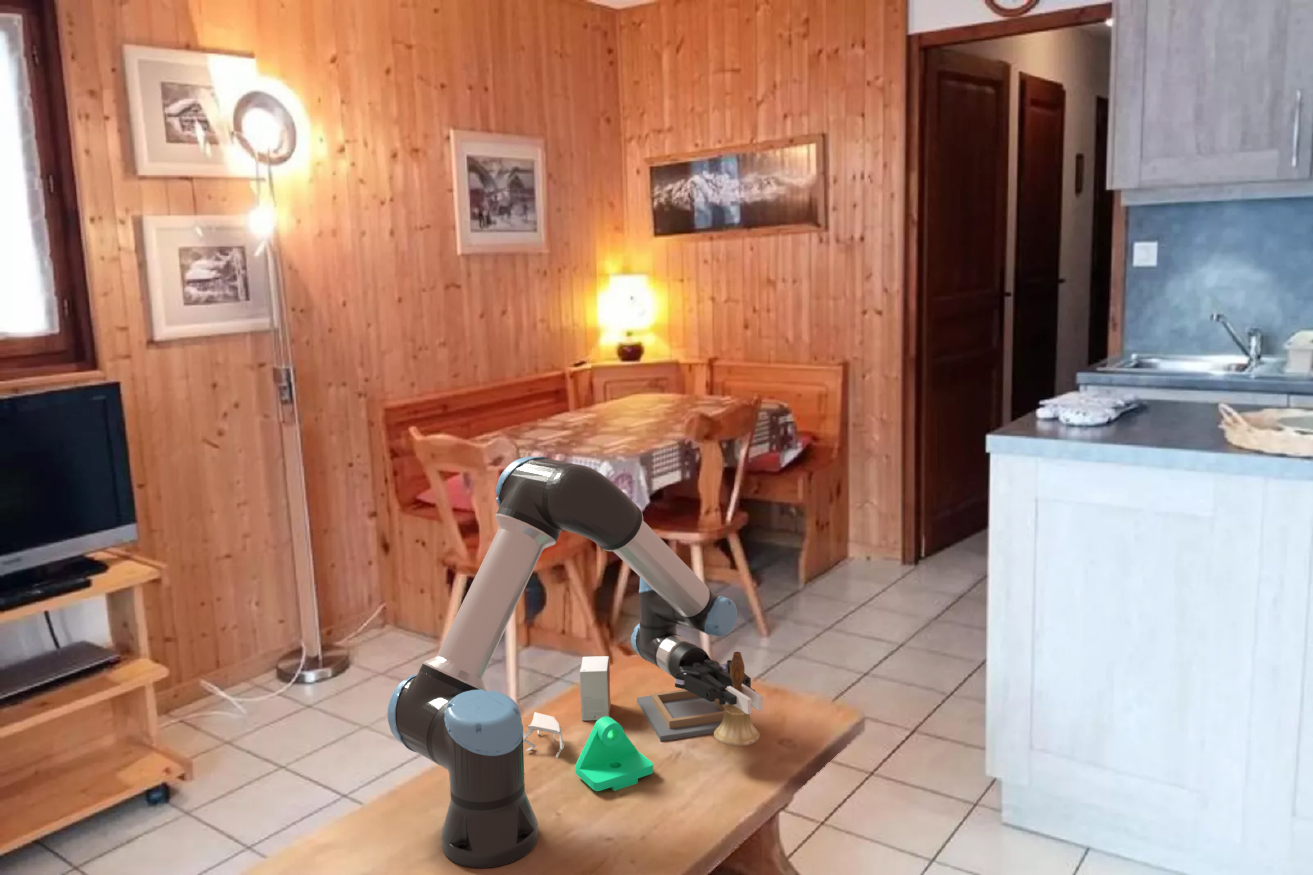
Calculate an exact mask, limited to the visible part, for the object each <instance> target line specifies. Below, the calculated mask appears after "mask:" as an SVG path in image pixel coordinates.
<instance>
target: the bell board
mask: <svg viewBox="0 0 1313 875" xmlns="http://www.w3.org/2000/svg"><path fill="white" fill-rule="evenodd" d="M707 693H708V694H709V692H708V691H707ZM636 703H637V705H638V706H639V708H640V709H641V711H642V713H643V714H644V716H645V718H646V720H647V721H648V723H649V725H650V726H651V727H652V729H653V731H654V733H655V734H656V736H657V738H658V740H659V741H660V742H663V741H664V742H665V741H671V740H677V739H683V738H684V739H685V738H691V737H698V736H704V735H710V734H714V731H715V730H716V728H717V727H718V726H720V724H721V723H722V720H723V717H724V712H725V707H726V706H727V705H728V704H729V703H727V702H726V701H725V704H724V705H720V704H719V700H718V699H715V701H714V702H710V701H708V700H706V699H704V698H702V697H700V696H697V695H695V694H693V693H691V692H689V691H687V690H685V689H679V690H670V691H663V692H656V693H651V695H644V696H637V697H636Z"/></svg>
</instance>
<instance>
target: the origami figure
mask: <svg viewBox="0 0 1313 875" xmlns="http://www.w3.org/2000/svg"><path fill="white" fill-rule="evenodd" d="M527 728H528V729H527V730H526V731H525V732H523V743H525V744H527V745H529V746H530V747H528V748H527V749H525V752H529V751H531V750H532V749H534V748H536V746H537V745H536V744H534V743H532V742H531V741H529V740H527V739H528V737H529V736H530V735H531V734H532V733H533V732H534V731H537V735H538V736H540V735H541V733H540V732H544V733H549V734H550V733H551V734H553V737H552V738H553V740H554V741H555V742H556V741H557V739H556V737H557V735H558V737H559V738H558V739H559V749H558V751H557V753H556V755H555V758H559V756H560V754H561V752H562V751H563V750H564V749H565V747H564V740H563V735H562V729H561V725H560V723H559V722H558V720H556V718H555V716H552V715H547V714H544V713H540V712H536V711H534V713H533V718H532V721H531V722H530V724H528V725H527Z"/></svg>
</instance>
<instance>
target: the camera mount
mask: <svg viewBox="0 0 1313 875" xmlns="http://www.w3.org/2000/svg"><path fill="white" fill-rule="evenodd" d="M574 770H575V772H574V773H575V774H576V775H577V777H579V778H580V779H581V780H582V781H583V782H584V783H585V784H587V785H588V786H589V787H590V788H591V789H592V791H595V792H600V791H603V790H608V789H612V790H613V792H615V791H619V790H622V789H624V788H628V787H631V786H633V785H636V784H637V785H638V783H639V782H638V779H641V778H643V777H646V776H650V775H652V774H653V773H654V763H653V761H651V760H650V759H649V758H647V757H646V756H645V755H644V754H643V753H642V752H640V751H639V750H637V748H636V746H635V745H634V744H633V742H632V741H631V740H630V738H629V737H628V735H627V734H626V733H625V730H624V728H623V726H622V725H621V724H620V723H619V722H617V721H616V720H615V719H614V718H612V717H610V716H609V717H608V716H605V717H602V718H600V719H599V720H596V721H595V723H594V726H593V727H592V729H591V731H590V733H589V735H588V738H587V740H586V742H585V744H584V747H583V748H582V751H581V753H580V755H579V756H578V759H577V761H576V763H575V765H574Z"/></svg>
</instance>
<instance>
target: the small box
mask: <svg viewBox="0 0 1313 875" xmlns="http://www.w3.org/2000/svg"><path fill="white" fill-rule="evenodd" d="M610 670H611V668H610V656H605V655H604V656H603V655H601V656H600V655H599V656H597V655H596V656H593V655H592V656H582V660H581V665H580V669H579V687H580V688H579V689H580V692H579V695H580V696H579V697H580V713H581V717H580V718H581V721H582V722H583V721H584V722H585V721H587V722H588V721H598V720H599V719H600V718H602V717H605V716H608V717H610V710H611V677H610V675H611V672H610Z"/></svg>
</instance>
